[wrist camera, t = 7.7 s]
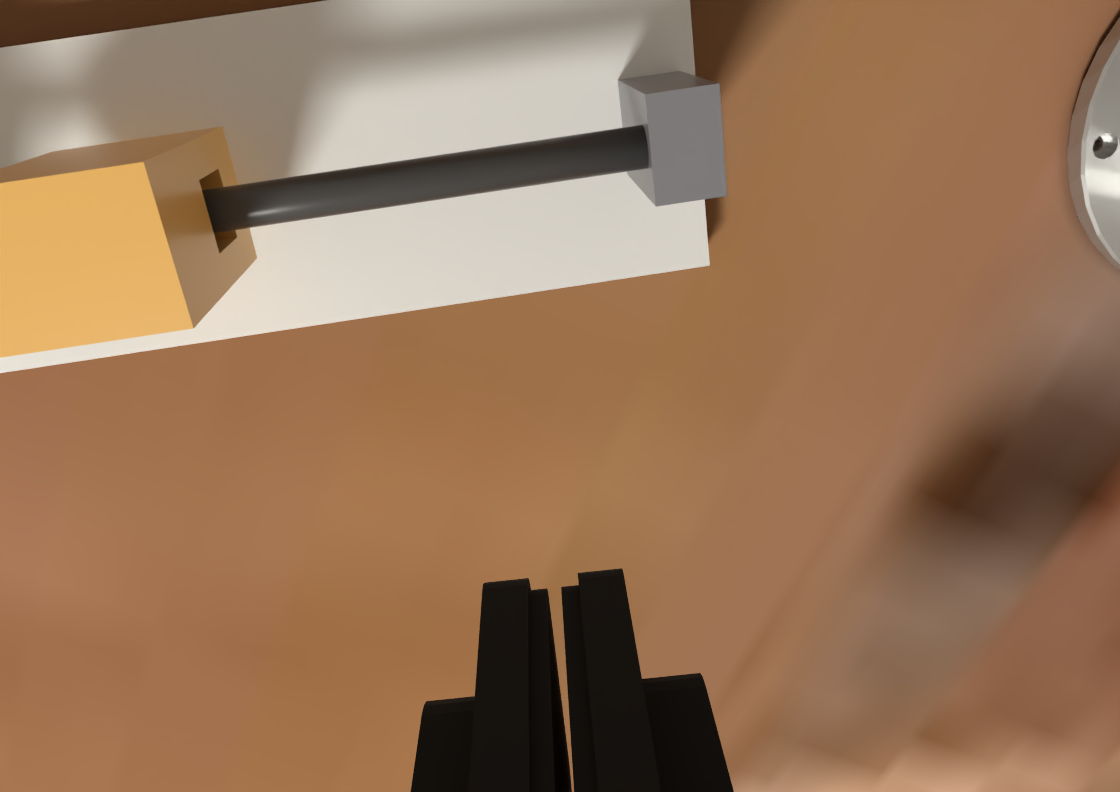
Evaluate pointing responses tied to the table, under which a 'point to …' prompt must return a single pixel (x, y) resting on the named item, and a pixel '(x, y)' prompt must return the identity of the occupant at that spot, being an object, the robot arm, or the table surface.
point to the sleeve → (114, 241)
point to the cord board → (402, 147)
